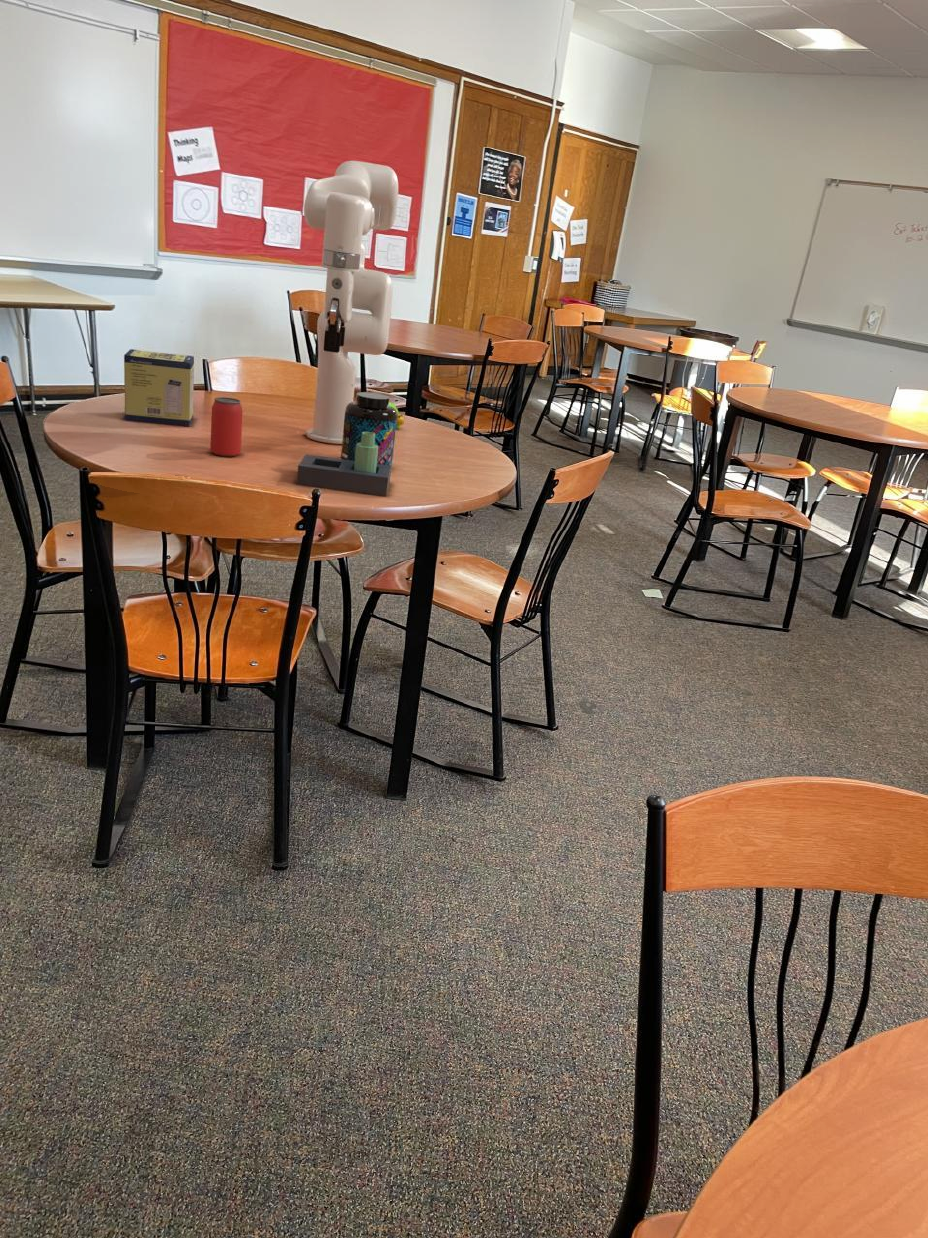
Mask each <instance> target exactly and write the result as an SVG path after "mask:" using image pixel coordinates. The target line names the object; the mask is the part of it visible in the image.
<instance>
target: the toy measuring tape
mask: <svg viewBox="0 0 928 1238" xmlns="http://www.w3.org/2000/svg"><path fill="white" fill-rule="evenodd" d="M388 406H391V407H393V408H394V409H395V410H396V412H397V423H396V430H397V429H400V426H403V425H404V423H405V419H404V418H403V414H402V413H401V414H399V410H398V408H397V407H396V405H394V403H392V402H390V401H389V404H388Z"/></svg>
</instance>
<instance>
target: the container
mask: <svg viewBox="0 0 928 1238" xmlns="http://www.w3.org/2000/svg"><path fill="white" fill-rule="evenodd" d="M389 402H390V397H389V396H388V395H385V394H381V393H376V392H368V391H367V392H366V391H363V392H362V391H361V392H356V396H355V401H353V402H351V403H349V404H348V405H347V406H346V409H345V418H344V429H343V440H342V444H341V450H340V451H341V453H340V459H344V460H351V461H355V454H356V444H357V443H361V437H362V432H371V433H374V434H375V445H377V446H379V447H378V456H377V464H380V465H387V466H391V467H392V464H393V457H394V448H395V439H396V430H397V429H396V423H397V412H396V410H395V409H394V408H393V407H391V406H388V404H389Z"/></svg>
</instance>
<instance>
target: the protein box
mask: <svg viewBox="0 0 928 1238" xmlns="http://www.w3.org/2000/svg"><path fill="white" fill-rule="evenodd" d="M123 370H124V371H123V372H124V377H123V378H124V379H123V380H124V381H123V382H124V385H123V386H124V389H123V391H124V421H128V422H129V421H130V422H137V423H138V422H140V423H148V424H149V423H150V424H159V425H170V426H179V427H180V426H181V427H190V426H191V425H192V422H193V419H194V391H195V389H194V388H195V387H194V385H195V383H194V382H195V356H193V355H187V354H176V353H169V352H168V353H167V352H159V351H149V350H141V349H140V350H139V349H134V348H130V349H129V350H128V351H127V352H126V353H125V354H124V355H123Z"/></svg>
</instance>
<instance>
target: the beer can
mask: <svg viewBox="0 0 928 1238" xmlns="http://www.w3.org/2000/svg"><path fill="white" fill-rule="evenodd" d="M241 402H242V401H241V400H240V399H237V398H233V397H226V396H221V397H220V396H219V397H218V396H217V397H215V398H214V401H213V403H212V406H211V418H210V420H211V421H210V446H209V447H210V449H209V450H210V452H211V453H212V454H213V455H216V456H219V457H226V458H233V457H237V456H239V455H240V454H241V452H242V434H243V415H244V414H243V413H244V412H243V407H242V404H241Z"/></svg>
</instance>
